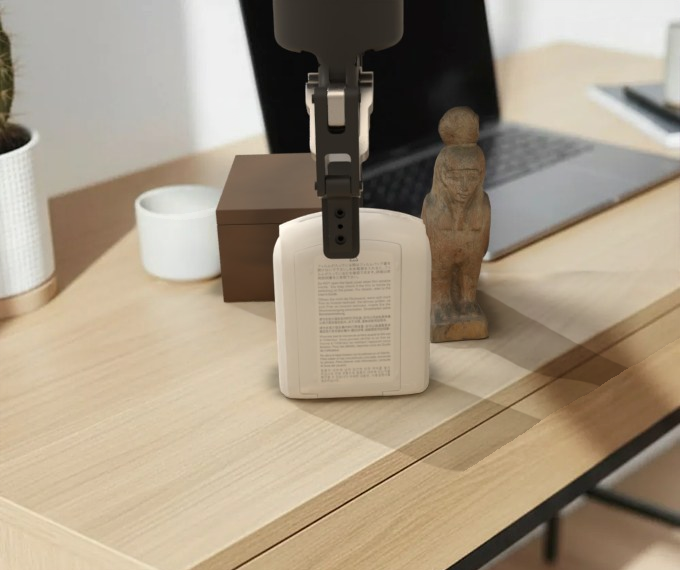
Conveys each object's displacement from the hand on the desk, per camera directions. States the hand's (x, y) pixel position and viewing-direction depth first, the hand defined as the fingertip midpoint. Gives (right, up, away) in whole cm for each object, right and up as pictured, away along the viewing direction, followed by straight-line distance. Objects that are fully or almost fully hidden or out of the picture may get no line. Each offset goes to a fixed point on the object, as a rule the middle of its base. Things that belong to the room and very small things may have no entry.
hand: (343, 233), depth 76 cm
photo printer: (+1, -9, +6) cm, 11 cm away
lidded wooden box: (-4, +3, +25) cm, 26 cm away
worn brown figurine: (+8, -2, +16) cm, 18 cm away
